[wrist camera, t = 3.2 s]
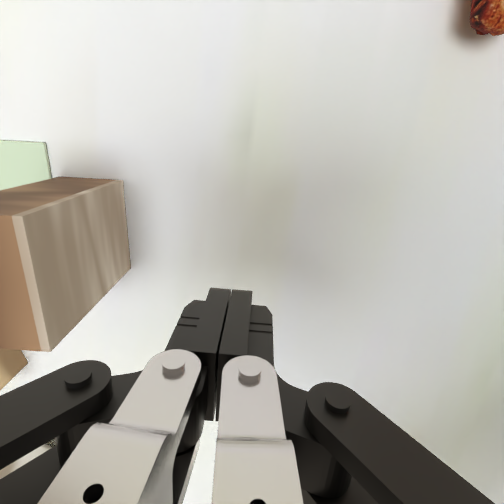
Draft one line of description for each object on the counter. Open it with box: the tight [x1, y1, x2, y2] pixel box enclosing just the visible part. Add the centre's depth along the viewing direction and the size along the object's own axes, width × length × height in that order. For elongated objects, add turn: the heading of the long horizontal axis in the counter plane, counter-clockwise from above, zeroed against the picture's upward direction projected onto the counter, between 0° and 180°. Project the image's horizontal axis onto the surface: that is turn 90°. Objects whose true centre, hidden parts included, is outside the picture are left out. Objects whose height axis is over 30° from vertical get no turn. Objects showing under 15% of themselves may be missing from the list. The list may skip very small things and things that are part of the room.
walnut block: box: [0, 177, 131, 352], centre depth 17 cm, size 4×6×9 cm, turn 177°
